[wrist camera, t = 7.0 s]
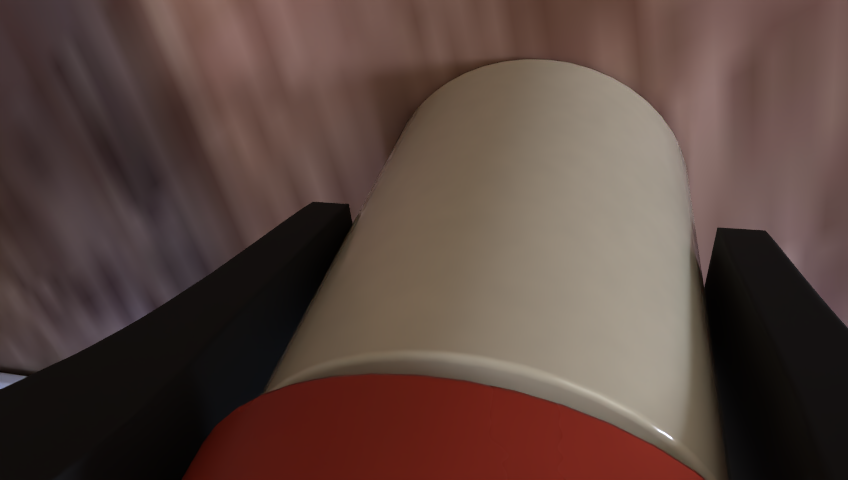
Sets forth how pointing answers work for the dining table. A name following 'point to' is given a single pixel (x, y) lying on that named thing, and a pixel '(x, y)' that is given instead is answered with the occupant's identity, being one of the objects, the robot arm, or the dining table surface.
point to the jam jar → (531, 259)
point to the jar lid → (421, 436)
